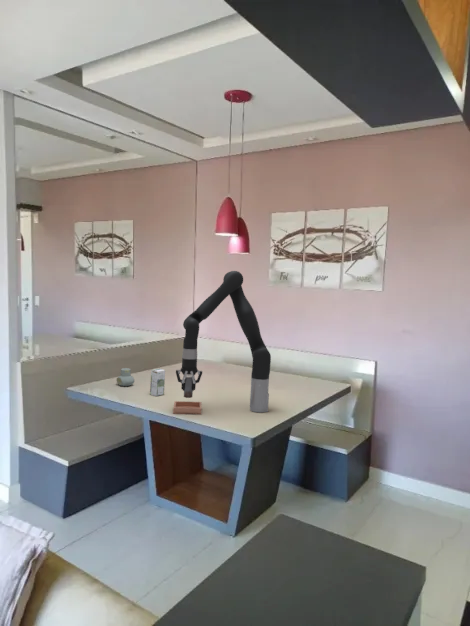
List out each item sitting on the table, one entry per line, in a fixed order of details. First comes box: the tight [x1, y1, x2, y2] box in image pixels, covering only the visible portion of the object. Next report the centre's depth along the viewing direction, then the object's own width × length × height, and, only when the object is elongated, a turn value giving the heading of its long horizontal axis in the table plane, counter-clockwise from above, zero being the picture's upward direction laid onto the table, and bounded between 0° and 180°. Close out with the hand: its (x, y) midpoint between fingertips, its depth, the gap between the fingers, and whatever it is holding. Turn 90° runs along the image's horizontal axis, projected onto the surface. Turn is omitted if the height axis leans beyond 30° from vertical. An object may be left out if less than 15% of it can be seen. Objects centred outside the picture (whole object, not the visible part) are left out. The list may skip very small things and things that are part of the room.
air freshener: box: [116, 367, 135, 387], centre depth 284 cm, size 11×8×10 cm
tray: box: [172, 400, 203, 415], centre depth 238 cm, size 14×12×3 cm
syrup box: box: [149, 368, 166, 397], centre depth 265 cm, size 6×6×14 cm
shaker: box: [183, 374, 194, 399], centre depth 237 cm, size 5×5×12 cm
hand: (188, 390), depth 237 cm, fingers closed on shaker, 4 cm apart
